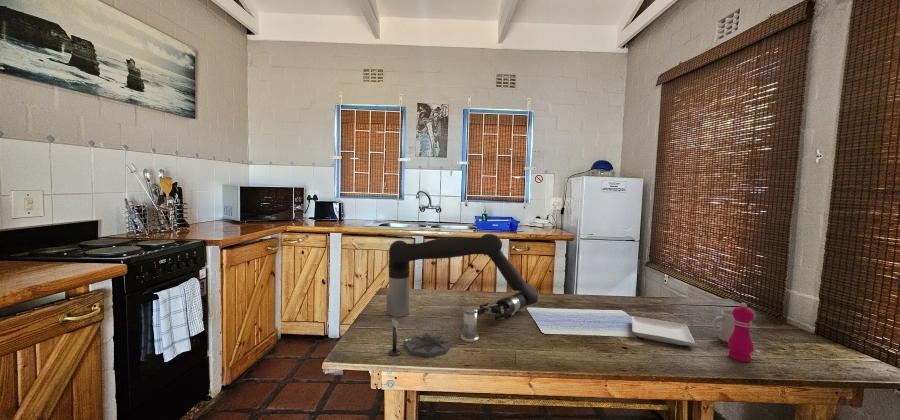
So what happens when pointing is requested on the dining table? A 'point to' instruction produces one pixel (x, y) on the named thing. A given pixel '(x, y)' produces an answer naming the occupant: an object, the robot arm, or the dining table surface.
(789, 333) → the dining table surface
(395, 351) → the stand
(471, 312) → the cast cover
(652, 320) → the salad plate
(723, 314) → the mug
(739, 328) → the pepper mill
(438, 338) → the grey octagonal star trivet
